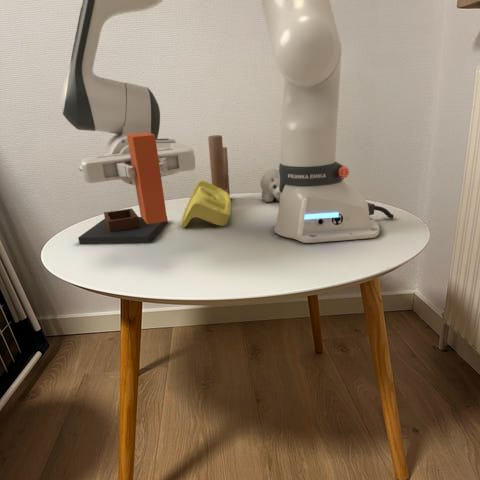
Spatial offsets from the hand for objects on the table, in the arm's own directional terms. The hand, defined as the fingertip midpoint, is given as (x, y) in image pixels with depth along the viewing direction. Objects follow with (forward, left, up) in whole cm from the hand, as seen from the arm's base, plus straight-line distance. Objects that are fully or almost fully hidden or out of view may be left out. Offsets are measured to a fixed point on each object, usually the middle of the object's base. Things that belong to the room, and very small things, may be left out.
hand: (147, 169), depth 72 cm
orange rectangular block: (0, -1, -9) cm, 9 cm away
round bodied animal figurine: (-20, -47, -18) cm, 54 cm away
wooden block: (-4, -48, -18) cm, 51 cm away
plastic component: (-3, -33, -18) cm, 37 cm away
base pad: (+15, -22, -17) cm, 31 cm away
